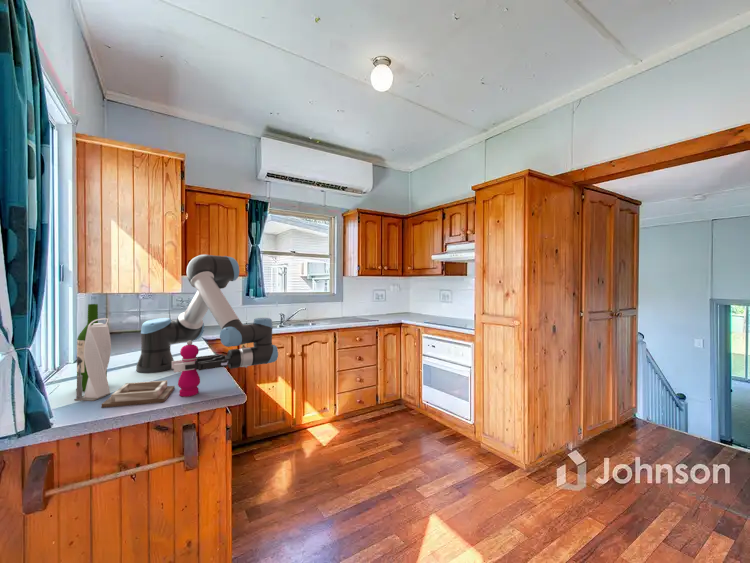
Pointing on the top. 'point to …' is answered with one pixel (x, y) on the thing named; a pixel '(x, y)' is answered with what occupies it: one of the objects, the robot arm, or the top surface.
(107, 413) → the top surface
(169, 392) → the stand
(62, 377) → the top surface
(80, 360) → the wine bottle
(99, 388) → the skyscraper
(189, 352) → the pepper mill
